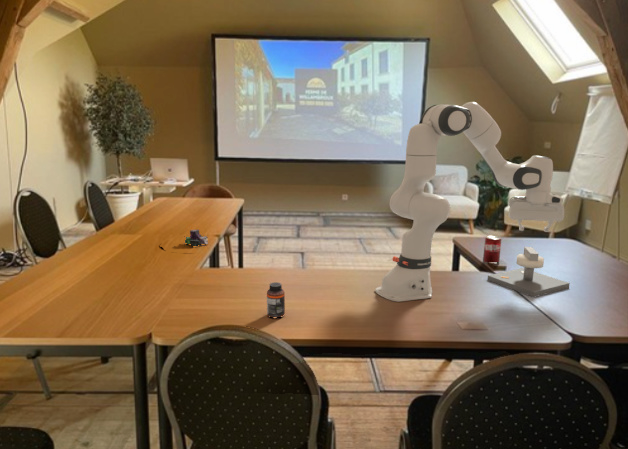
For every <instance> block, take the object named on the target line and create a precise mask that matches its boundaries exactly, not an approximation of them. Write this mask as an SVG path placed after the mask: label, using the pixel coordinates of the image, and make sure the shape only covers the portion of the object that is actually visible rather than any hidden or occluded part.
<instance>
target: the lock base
mask: <svg viewBox="0 0 628 449" xmlns="http://www.w3.org/2000/svg"><path fill="white" fill-rule="evenodd" d="M487 281H489V282H492V283H495V284H497V285H500V286H503V287H505V288H508V289H511V290H513V291H516V292H519V293H522V294H525V295H527V294H528V295H527V296H529V295H530V297H532V296H533V297H532V298H535V296H536V297H539V296H538V295H540V296H543V294H544V295H547V294H550V293H555V292H559V291H562V290H565V289H566V290H567V289H570V282H568V281H565V280H562V279H558V278H555V277H552V276H549V275H546V274H542V273H539V272H537V271H536V272H535V268H527V267H522V268H521V267H520V268H516V269H512V270H508V271H504V272H498V273H494V274H490V275H487Z"/></svg>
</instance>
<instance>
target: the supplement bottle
mask: <svg viewBox="0 0 628 449" xmlns="http://www.w3.org/2000/svg"><path fill="white" fill-rule="evenodd" d="M285 296H286V295H285V290H284V289H283V287H282V283H281V282H276V281H275V282H270V283H269V288H268V289H267V291H266V314H267V317H268V316H270V317H281V316H283V315H284V314H285V315H286V312H285V311H286V309H285V308H286V304H285V302H286V301H285V298H286V297H285ZM285 315H284V316H285ZM284 316H283V317H284ZM270 317H269V318H270Z"/></svg>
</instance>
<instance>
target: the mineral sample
mask: <svg viewBox="0 0 628 449" xmlns="http://www.w3.org/2000/svg"><path fill="white" fill-rule="evenodd" d="M189 234H190V235H189V236H190V237H186V240H185V243H187V244H191V245H192V246H198V245H200V244H208V245H209V242H208V241H209V240H208V237H207V236H208V235H207V236H206V235H205V236H204V237H203V236H202V234H200V229H191V230H189ZM185 243H184V244H185ZM192 246H191V247H192ZM200 246H201V245H200Z"/></svg>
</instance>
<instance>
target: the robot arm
mask: <svg viewBox="0 0 628 449" xmlns="http://www.w3.org/2000/svg"><path fill="white" fill-rule="evenodd" d="M462 133H463V134H464V135H465V137H466V138H467V139H468V140H469V141H470V143H471V144H472V145H473V146H474V147H475V149H476V150H477V152H478V154H479V155H480V157H482V159H483V161H484V162H485V163H486V165H487V166H488V168H489V169H490V172H491V176H492V179H493V180H494V183H495V184H497V186H500V187H504V188H510V189H513V190H514V189H515V190H518V191H519V190H520V191H525V196H522V195H521V196H518V195H517V196H515V195H514V196H513V197H511V198H510V199H509V202H508V205H509V208H508V214H507V216H508V218H509V219H510V220H513V221H514V220H516V223H517V224H518V226H519V228H518V230H519V231H521V232H524V230H525V226H524V225H522V223H523V221H537V222H538V221H539V222H540V221H544V222H547V223H548V224H547V225H546V226H544V229H543V231H544V232H545V233H549V232H550V228H551V227H552V226H553V225H554V222H562V221H564V218H565V207H564V204H563V202H564V198H562V197H561V196H560V195H557V194H555V193H552V192H551V190H552V187H551V184H552V181H553V176H554V175H553V174H554V163H553V160H552V158H550V157H548V156H543V155H542V156H541V155H535V154H534V155H532V156H531V157H530V158H529V159H527V160H526V161H524V162H521V163H519V164H518V163H513V162H511V161H508V160H506V159H505V158H504V157H503V156H502V154H501V153H500V150H498V148H497V147H496V145H497V144H498V143H499V142H500V139H501V137H502V130H501V129H500V126H499V125H498V123H497V122H496V121H495V119H494V118H493V117H492V116H491V114H490V113H488V111H486V109H485V108H484V107H482V106H481V105H480V104H479V103H477V102H475V101H469V102H465V103H464V104H463V105H461V106H459V105H456V104H447V103H443V104H434V105H433V104H432V105H431V106H430V107H428V108H426V109H425V111H424V112H423V114H422V117H421V119H420V120H419V122H418V123H417V124H415V125H413V126H412V127H411V128H410V129H409V131H408V135H407V140H406V149H405V165H404V168H405V169H404V175H403V179H402V182H401V184H400V185H399V187H398V189H396V190H395V191H394V192H393V193H392V194H391V196H390V198H389V209H390V210H391V212H392V213H394V214H396V215H397V216H399V217H401V218H403V219H404V218H405V219H409V220H413V221H412V222H413V223H412V227H411V229H409V230H407V231H405V232H404V233H403V234H402V236H401V249H400V250H401V251H400V252H401V253H400V254H399V256H395V255H394V256H393V257H392V262H394V263H396V265H395V266H394V267H392V268H391V269H390V271H388V272H387V273H386V274H385V275H384V276H383V278H382V281H381V285H380V286H378V287H375V290H374V291H375V293H376V294H378V295H379V296H381V297H382V298H384V299H386V300H389V301H391V302H407V301H415V300H425V299H430V298H431V299H432V295H433V288H432V282H431V281H432V280H431V266H432V256H431V254H432V252H431V250H432V245H433V244H432V242H433V237H434V234H435V232H436V230H437V229H438V227H439V226H440V225H442V224H443V223H445V222H446V221H447V219H448V218H449V216H450V213H451V205H450V202H449V200H448V199H447V198H446V197H443V196H440V195H438V194H435V193H430V192H425V191H424V190H425V186H426V184H427V183H428V182H430V181H432V180H433V179H434V178H435V177H436V176H435V175H436V173H437V159H438V158H437V156H438V155H437V153H438V143H439V140H440V138H441V137H442V136H445V137H447V136H448V137H453V136H457V135H458V136H459V135H460V134H462Z"/></svg>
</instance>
